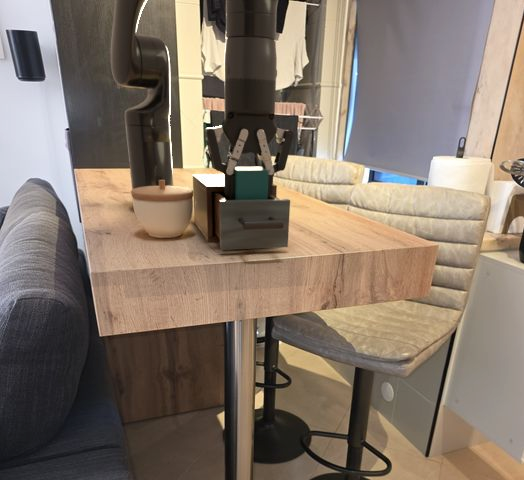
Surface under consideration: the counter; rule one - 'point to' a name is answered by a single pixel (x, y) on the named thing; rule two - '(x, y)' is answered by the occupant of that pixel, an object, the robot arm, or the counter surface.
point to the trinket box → (163, 209)
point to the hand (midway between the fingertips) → (248, 198)
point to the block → (251, 183)
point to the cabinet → (208, 201)
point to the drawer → (250, 222)
